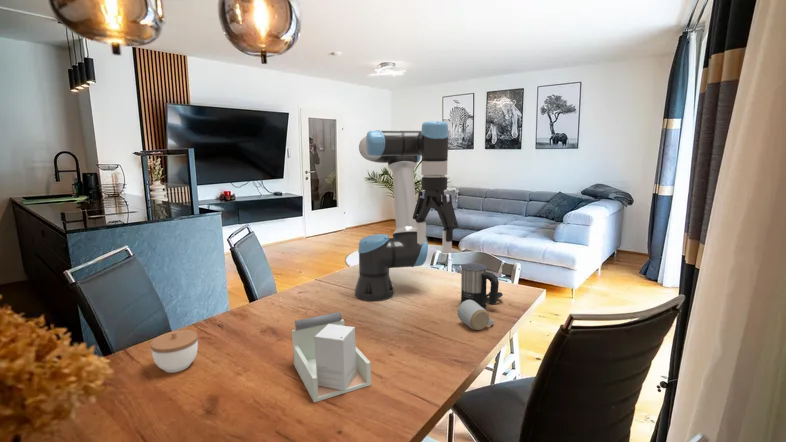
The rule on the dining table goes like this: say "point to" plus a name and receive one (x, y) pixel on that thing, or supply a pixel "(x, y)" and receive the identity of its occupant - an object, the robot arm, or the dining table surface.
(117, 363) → the dining table surface
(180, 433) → the dining table surface
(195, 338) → the lidded jar
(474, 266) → the milk frother
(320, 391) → the tray
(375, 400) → the dining table surface
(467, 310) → the ceramic mug
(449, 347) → the dining table surface
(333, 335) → the supplement box
